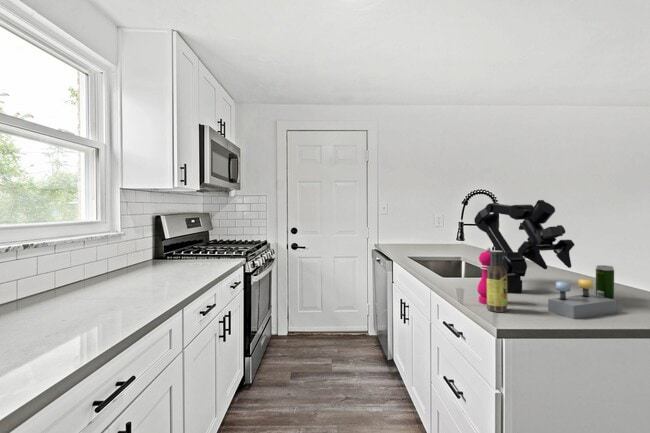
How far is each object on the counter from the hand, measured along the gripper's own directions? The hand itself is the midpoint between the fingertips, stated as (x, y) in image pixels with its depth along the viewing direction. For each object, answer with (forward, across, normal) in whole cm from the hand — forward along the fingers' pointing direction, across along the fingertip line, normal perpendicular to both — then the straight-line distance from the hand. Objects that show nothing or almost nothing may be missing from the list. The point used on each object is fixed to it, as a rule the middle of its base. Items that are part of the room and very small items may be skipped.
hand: (558, 268), depth 128 cm
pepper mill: (+2, -18, +18) cm, 26 cm away
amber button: (+9, +8, +4) cm, 13 cm away
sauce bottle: (+9, -22, +11) cm, 26 cm away
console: (+14, +3, +4) cm, 15 cm away
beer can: (+7, +24, +13) cm, 28 cm away
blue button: (+10, -2, +3) cm, 11 cm away
